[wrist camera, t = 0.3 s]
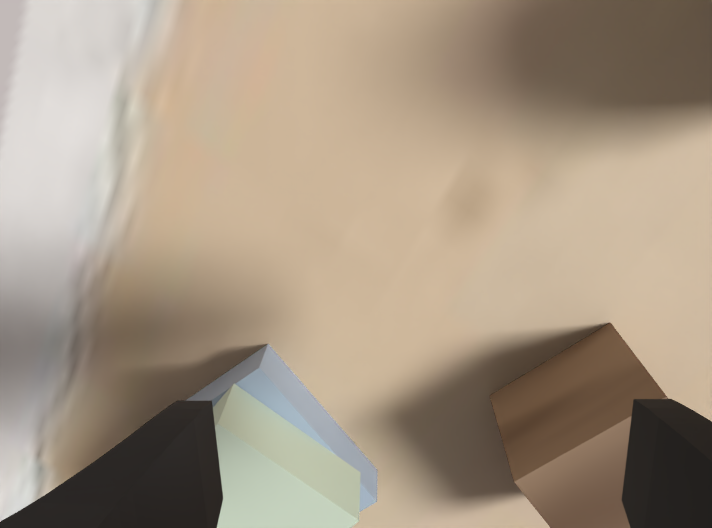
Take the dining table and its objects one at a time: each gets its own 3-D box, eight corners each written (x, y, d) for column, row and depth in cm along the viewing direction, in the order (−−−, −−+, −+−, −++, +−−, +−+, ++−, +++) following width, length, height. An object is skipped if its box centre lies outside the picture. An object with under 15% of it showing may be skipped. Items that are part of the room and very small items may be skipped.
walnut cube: (678, 421, 22) (748, 515, 18) (560, 486, 23) (599, 589, 19) (609, 321, 21) (666, 396, 17) (489, 394, 22) (514, 481, 18)
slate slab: (377, 460, 24) (376, 501, 22) (248, 538, 25) (236, 584, 23) (270, 335, 22) (259, 367, 20) (140, 426, 24) (117, 464, 21)
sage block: (360, 472, 21) (359, 520, 19) (267, 566, 23) (256, 620, 20) (233, 383, 20) (217, 423, 18) (144, 486, 22) (120, 535, 20)
